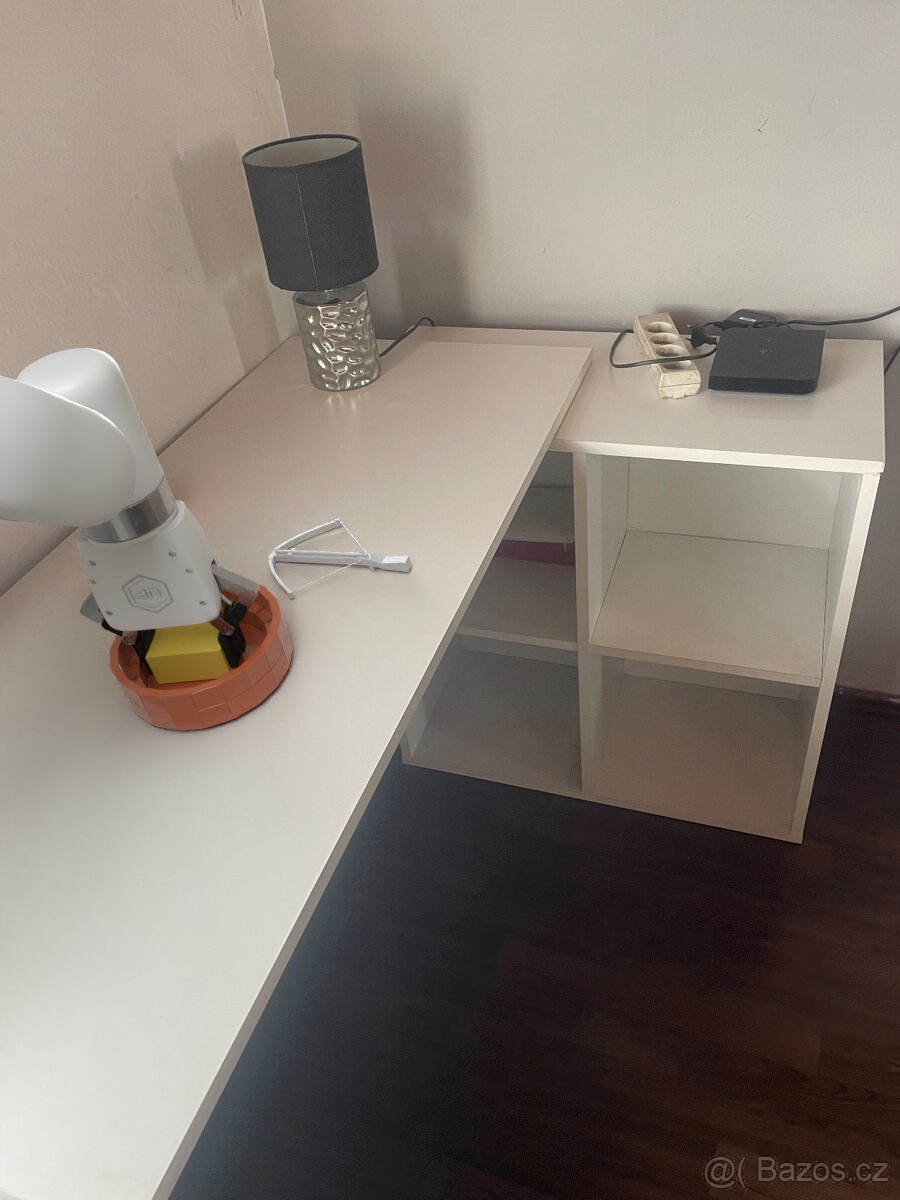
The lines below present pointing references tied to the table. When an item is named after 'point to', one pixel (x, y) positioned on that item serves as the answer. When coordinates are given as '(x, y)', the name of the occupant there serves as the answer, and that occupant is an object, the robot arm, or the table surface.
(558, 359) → the table surface
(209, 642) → the sponge
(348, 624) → the table surface
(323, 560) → the crossbow
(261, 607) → the bowl
